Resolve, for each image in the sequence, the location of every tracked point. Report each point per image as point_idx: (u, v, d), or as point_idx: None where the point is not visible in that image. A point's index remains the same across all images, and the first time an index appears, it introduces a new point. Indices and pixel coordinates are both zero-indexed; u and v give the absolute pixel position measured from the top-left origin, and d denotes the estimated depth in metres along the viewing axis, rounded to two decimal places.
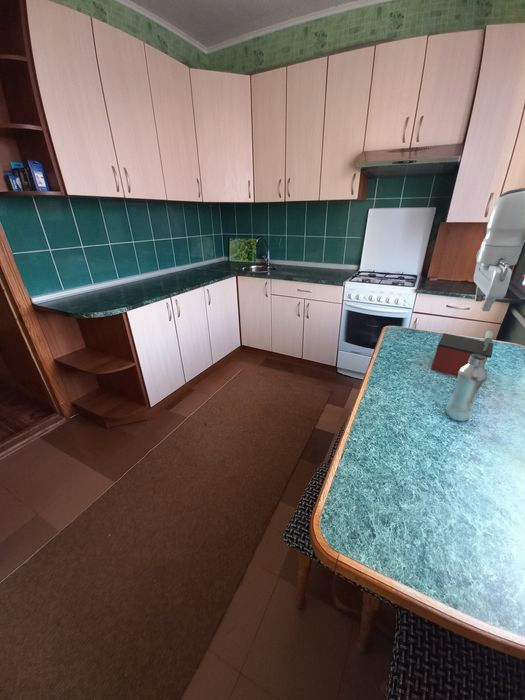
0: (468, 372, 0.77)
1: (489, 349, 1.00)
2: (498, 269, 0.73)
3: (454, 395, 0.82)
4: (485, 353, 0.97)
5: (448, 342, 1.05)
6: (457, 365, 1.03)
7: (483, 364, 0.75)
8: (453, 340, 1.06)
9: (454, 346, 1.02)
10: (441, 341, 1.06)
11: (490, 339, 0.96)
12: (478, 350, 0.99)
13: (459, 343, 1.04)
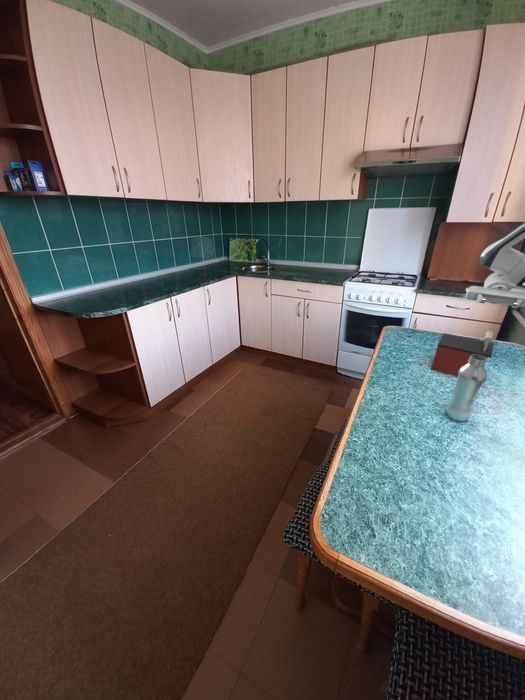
0: (469, 372, 0.77)
1: (489, 349, 1.00)
2: None
3: (454, 395, 0.82)
4: (485, 353, 0.97)
5: (448, 342, 1.05)
6: (457, 365, 1.03)
7: (483, 364, 0.75)
8: (453, 340, 1.06)
9: (454, 346, 1.02)
10: (441, 341, 1.06)
11: (490, 339, 0.96)
12: (478, 350, 0.99)
13: (459, 343, 1.04)
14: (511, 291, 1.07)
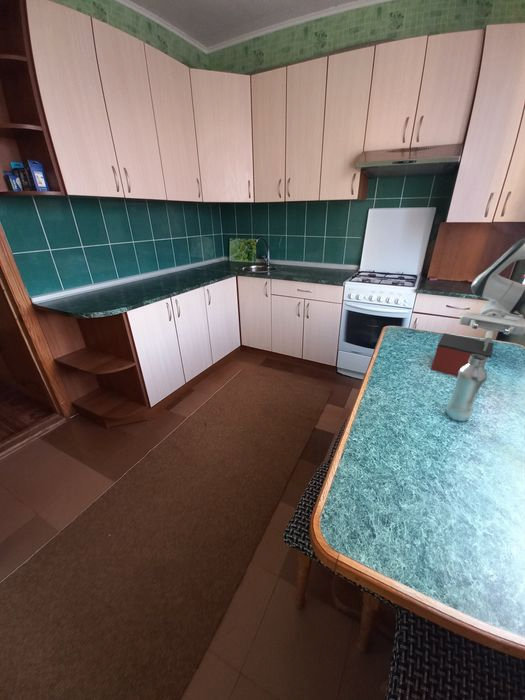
0: (468, 372, 0.77)
1: (489, 349, 1.00)
2: None
3: (454, 395, 0.82)
4: (485, 353, 0.97)
5: (448, 342, 1.05)
6: (457, 365, 1.03)
7: (483, 364, 0.75)
8: (453, 340, 1.06)
9: (454, 346, 1.02)
10: (441, 341, 1.06)
11: (490, 339, 0.96)
12: (478, 350, 0.99)
13: (459, 343, 1.04)
14: (504, 318, 1.09)
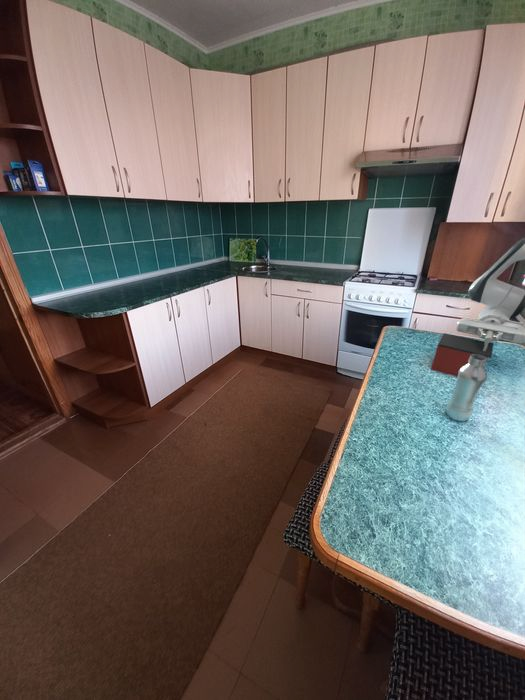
0: (469, 372, 0.77)
1: (489, 349, 1.00)
2: None
3: (454, 395, 0.82)
4: (485, 353, 0.97)
5: (448, 342, 1.05)
6: (457, 365, 1.03)
7: (483, 364, 0.75)
8: (453, 340, 1.06)
9: (454, 346, 1.02)
10: (441, 341, 1.06)
11: (490, 339, 0.96)
12: (478, 350, 0.99)
13: (459, 343, 1.04)
14: (504, 325, 1.03)
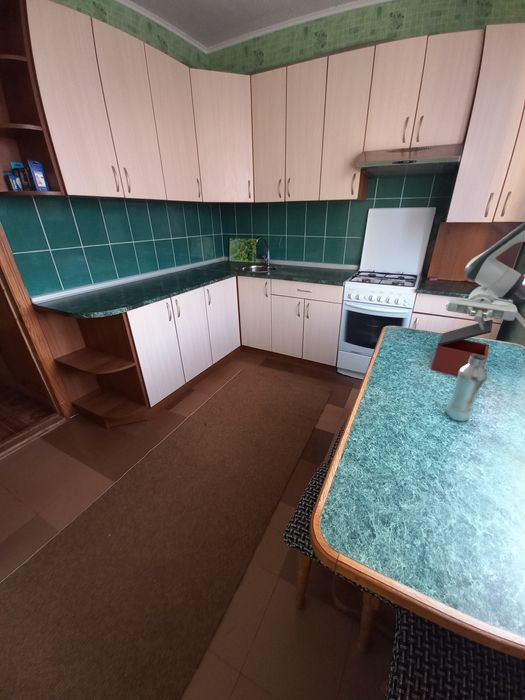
0: (469, 372, 0.77)
1: (488, 326, 0.97)
2: None
3: (454, 395, 0.82)
4: (483, 331, 0.95)
5: (447, 338, 1.05)
6: (457, 365, 1.03)
7: (483, 364, 0.75)
8: (452, 334, 1.06)
9: (453, 339, 1.02)
10: (440, 340, 1.06)
11: (478, 317, 0.96)
12: (476, 331, 0.97)
13: (458, 334, 1.03)
14: (493, 303, 1.02)
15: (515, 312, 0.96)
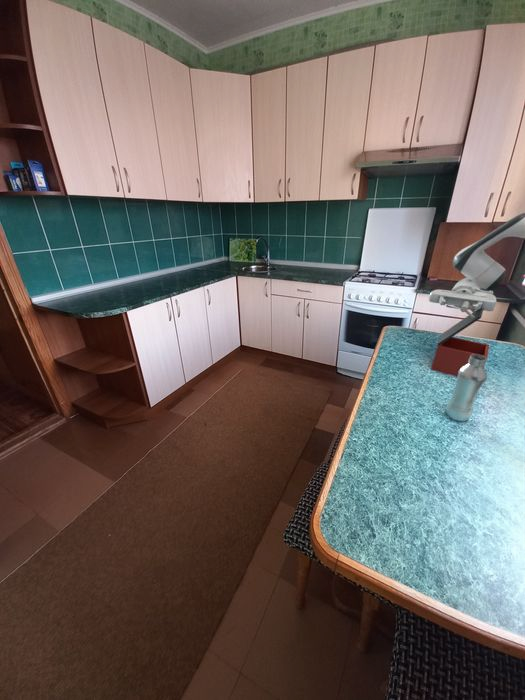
0: (469, 372, 0.77)
1: (478, 313, 0.98)
2: None
3: (454, 395, 0.82)
4: (474, 318, 0.95)
5: (445, 336, 1.05)
6: (457, 365, 1.03)
7: (483, 364, 0.75)
8: (449, 331, 1.06)
9: (449, 335, 1.02)
10: (439, 340, 1.06)
11: (464, 307, 0.97)
12: (468, 321, 0.98)
13: (454, 329, 1.04)
14: (474, 294, 1.05)
15: (494, 302, 0.98)
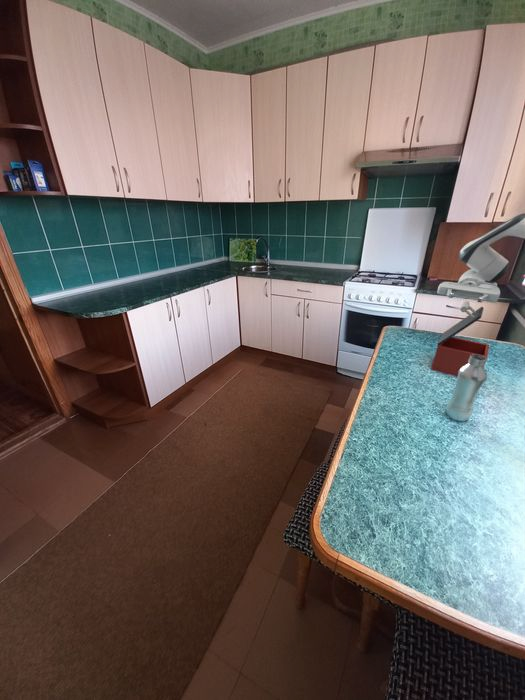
0: (469, 372, 0.77)
1: (478, 313, 0.98)
2: None
3: (454, 395, 0.82)
4: (474, 318, 0.95)
5: (445, 336, 1.05)
6: (457, 365, 1.03)
7: (483, 364, 0.75)
8: (449, 331, 1.06)
9: (449, 335, 1.02)
10: (439, 340, 1.06)
11: (464, 307, 0.97)
12: (468, 321, 0.98)
13: (454, 329, 1.04)
14: (480, 287, 1.13)
15: (498, 295, 1.07)
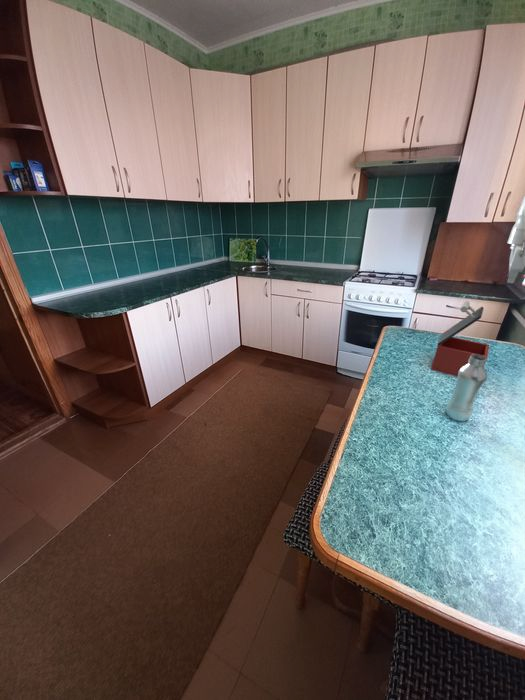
0: (469, 372, 0.77)
1: (478, 313, 0.98)
2: (519, 247, 0.92)
3: (454, 395, 0.82)
4: (474, 318, 0.95)
5: (445, 336, 1.05)
6: (457, 365, 1.03)
7: (483, 364, 0.75)
8: (449, 331, 1.06)
9: (449, 335, 1.02)
10: (439, 340, 1.06)
11: (464, 307, 0.97)
12: (468, 321, 0.98)
13: (454, 329, 1.04)
14: None
15: None
